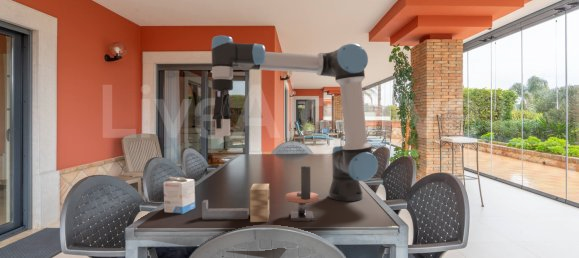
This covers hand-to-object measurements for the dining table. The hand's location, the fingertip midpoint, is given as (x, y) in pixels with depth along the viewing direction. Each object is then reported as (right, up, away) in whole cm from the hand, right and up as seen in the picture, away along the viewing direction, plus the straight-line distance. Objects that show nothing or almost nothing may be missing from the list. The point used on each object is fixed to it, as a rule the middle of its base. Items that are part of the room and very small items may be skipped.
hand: (223, 137), depth 120 cm
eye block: (+14, -29, -4) cm, 32 cm away
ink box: (-18, -29, +6) cm, 34 cm away
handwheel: (+29, -22, -4) cm, 37 cm away
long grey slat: (+2, -29, -4) cm, 29 cm away
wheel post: (+29, -29, -4) cm, 41 cm away
